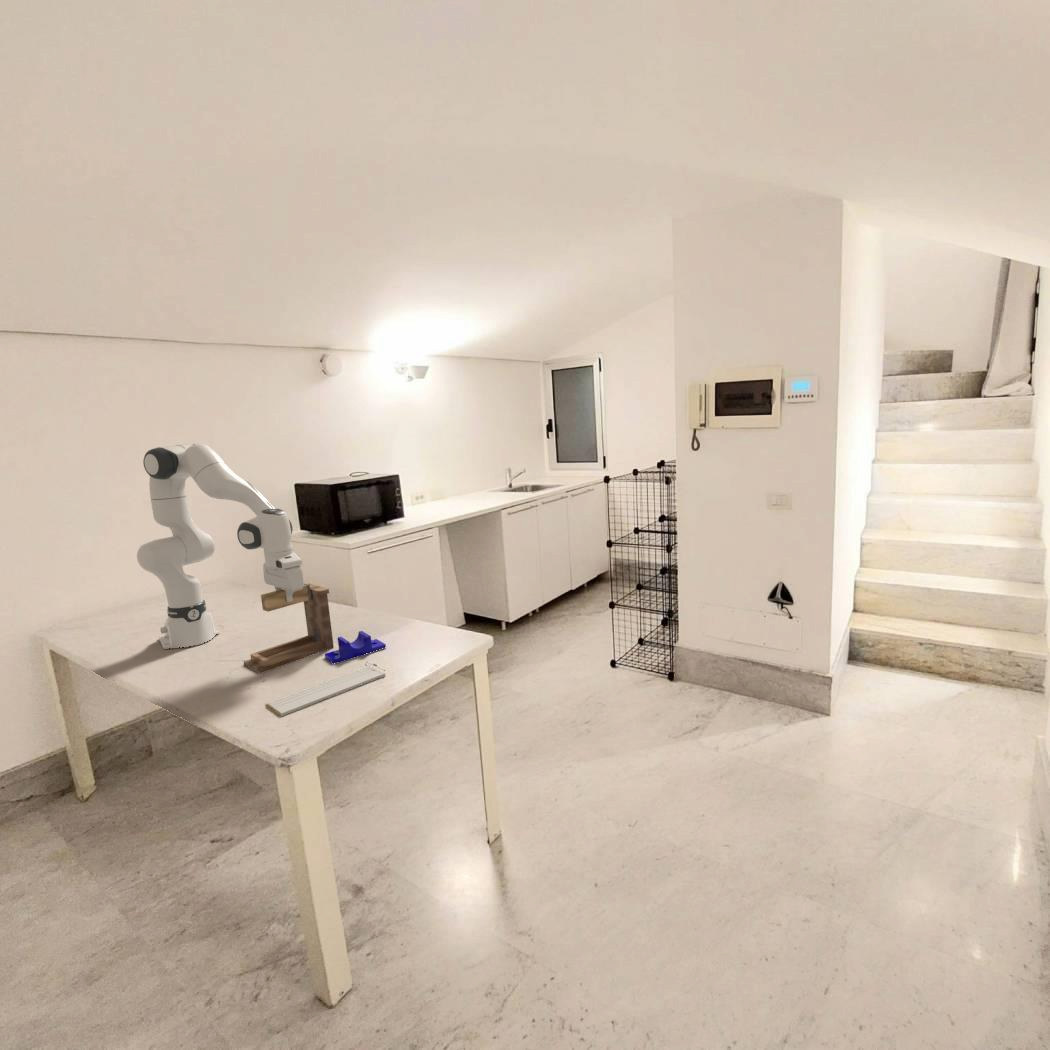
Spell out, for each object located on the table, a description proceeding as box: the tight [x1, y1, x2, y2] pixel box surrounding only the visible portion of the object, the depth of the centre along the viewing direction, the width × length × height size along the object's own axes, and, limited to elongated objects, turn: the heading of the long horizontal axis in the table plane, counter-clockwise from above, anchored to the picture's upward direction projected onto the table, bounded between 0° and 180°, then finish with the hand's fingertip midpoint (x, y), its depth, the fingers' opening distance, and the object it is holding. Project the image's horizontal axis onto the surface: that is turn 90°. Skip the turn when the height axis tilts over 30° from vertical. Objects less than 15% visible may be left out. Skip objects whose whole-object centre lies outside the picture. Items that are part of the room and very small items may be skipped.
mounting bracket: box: [324, 630, 387, 665], centre depth 196 cm, size 18×7×6 cm, turn 128°
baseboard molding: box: [265, 661, 386, 717], centre depth 170 cm, size 31×3×12 cm
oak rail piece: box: [260, 583, 312, 612], centre depth 195 cm, size 4×15×5 cm, turn 138°
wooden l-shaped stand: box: [243, 583, 335, 674], centre depth 196 cm, size 13×26×20 cm, turn 138°
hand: (285, 600), depth 195 cm, fingers closed on oak rail piece, 3 cm apart
